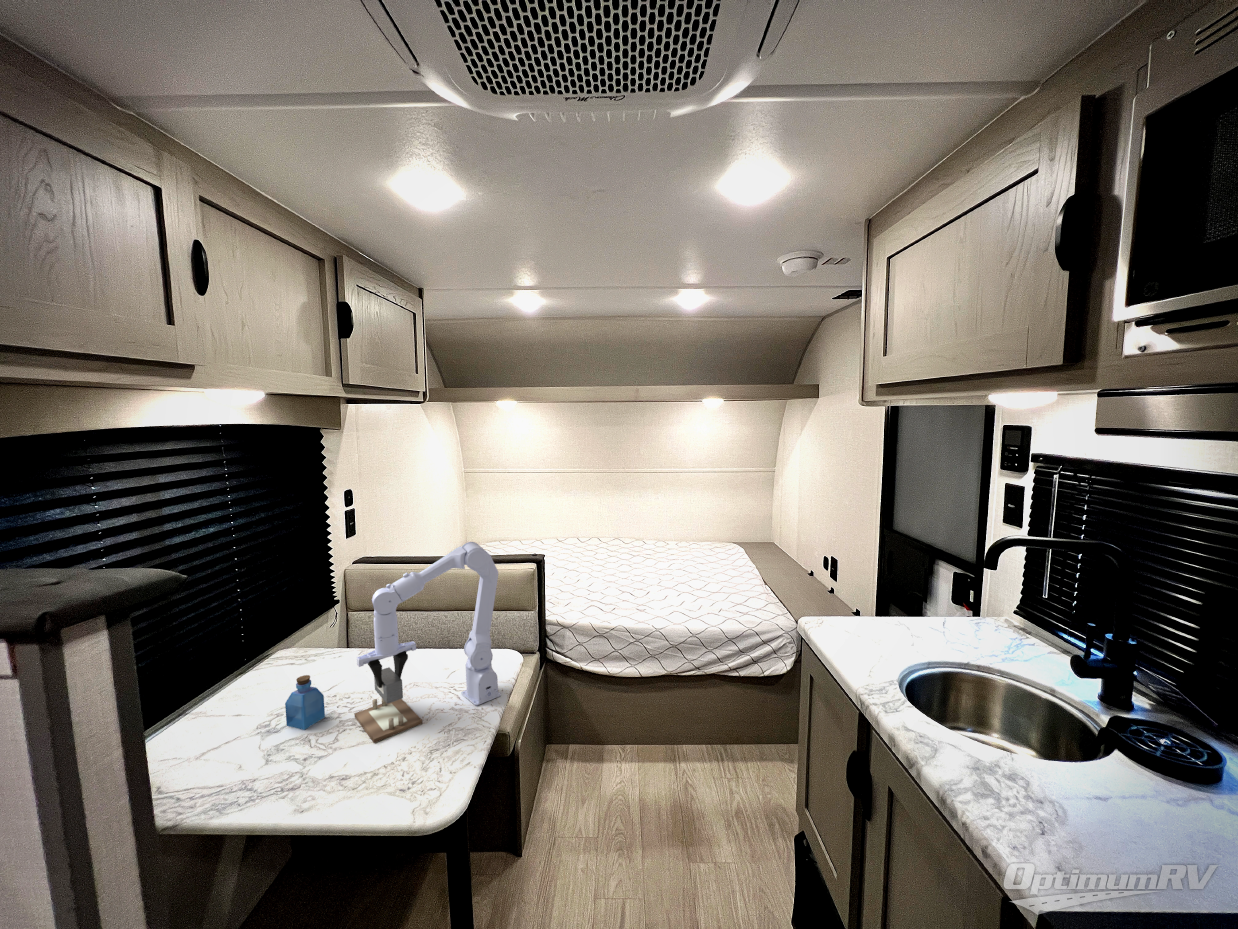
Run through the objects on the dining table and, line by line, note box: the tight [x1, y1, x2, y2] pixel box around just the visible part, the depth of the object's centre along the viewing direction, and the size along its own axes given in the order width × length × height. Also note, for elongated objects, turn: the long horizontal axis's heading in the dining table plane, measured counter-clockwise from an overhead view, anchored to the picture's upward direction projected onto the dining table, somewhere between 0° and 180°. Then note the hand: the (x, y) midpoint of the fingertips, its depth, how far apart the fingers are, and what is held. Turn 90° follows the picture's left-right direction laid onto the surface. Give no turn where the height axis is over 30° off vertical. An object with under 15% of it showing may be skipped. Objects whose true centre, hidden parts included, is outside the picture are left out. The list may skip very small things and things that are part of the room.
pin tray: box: [354, 697, 423, 744], centre depth 135 cm, size 16×12×4 cm
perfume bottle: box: [284, 674, 326, 731], centre depth 135 cm, size 6×6×12 cm
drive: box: [373, 666, 404, 704], centre depth 137 cm, size 10×4×5 cm, turn 42°
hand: (388, 683), depth 136 cm, fingers closed on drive, 4 cm apart
